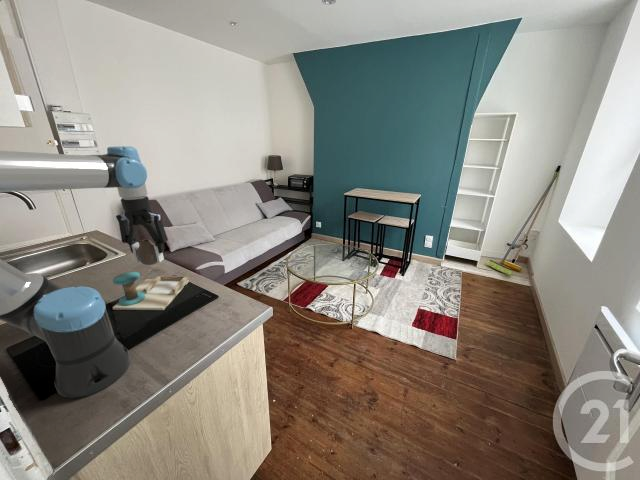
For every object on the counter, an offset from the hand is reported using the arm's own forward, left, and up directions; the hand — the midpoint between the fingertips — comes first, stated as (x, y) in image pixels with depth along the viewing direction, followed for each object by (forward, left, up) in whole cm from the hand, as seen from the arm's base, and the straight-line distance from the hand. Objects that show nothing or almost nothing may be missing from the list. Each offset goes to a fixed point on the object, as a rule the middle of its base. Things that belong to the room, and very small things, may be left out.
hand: (150, 260), depth 93 cm
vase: (0, 0, -1) cm, 1 cm away
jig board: (+5, +5, -17) cm, 18 cm away
